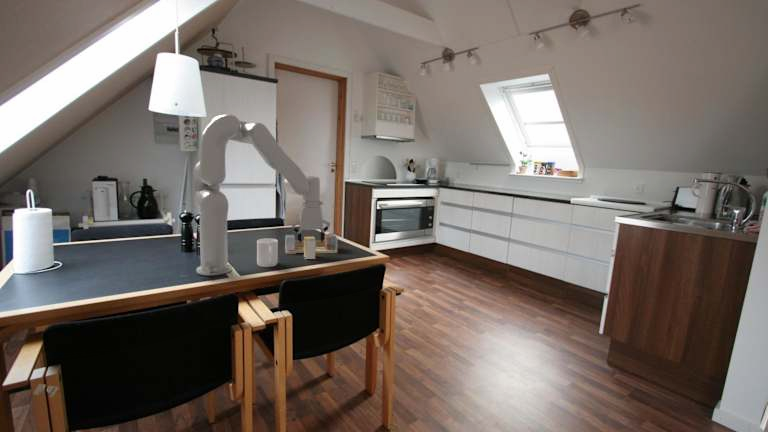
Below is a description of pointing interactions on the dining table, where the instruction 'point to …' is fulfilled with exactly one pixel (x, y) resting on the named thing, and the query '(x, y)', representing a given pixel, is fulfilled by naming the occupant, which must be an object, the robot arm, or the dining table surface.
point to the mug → (267, 252)
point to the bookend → (290, 242)
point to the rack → (318, 245)
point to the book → (309, 247)
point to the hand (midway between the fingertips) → (311, 241)
